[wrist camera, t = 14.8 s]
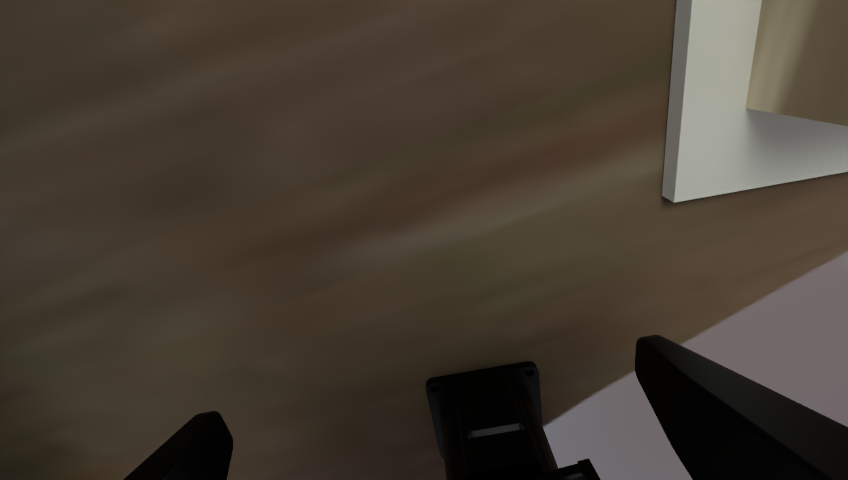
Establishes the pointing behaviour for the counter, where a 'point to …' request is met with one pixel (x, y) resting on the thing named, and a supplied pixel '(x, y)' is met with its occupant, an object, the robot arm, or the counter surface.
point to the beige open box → (801, 60)
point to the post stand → (733, 112)
